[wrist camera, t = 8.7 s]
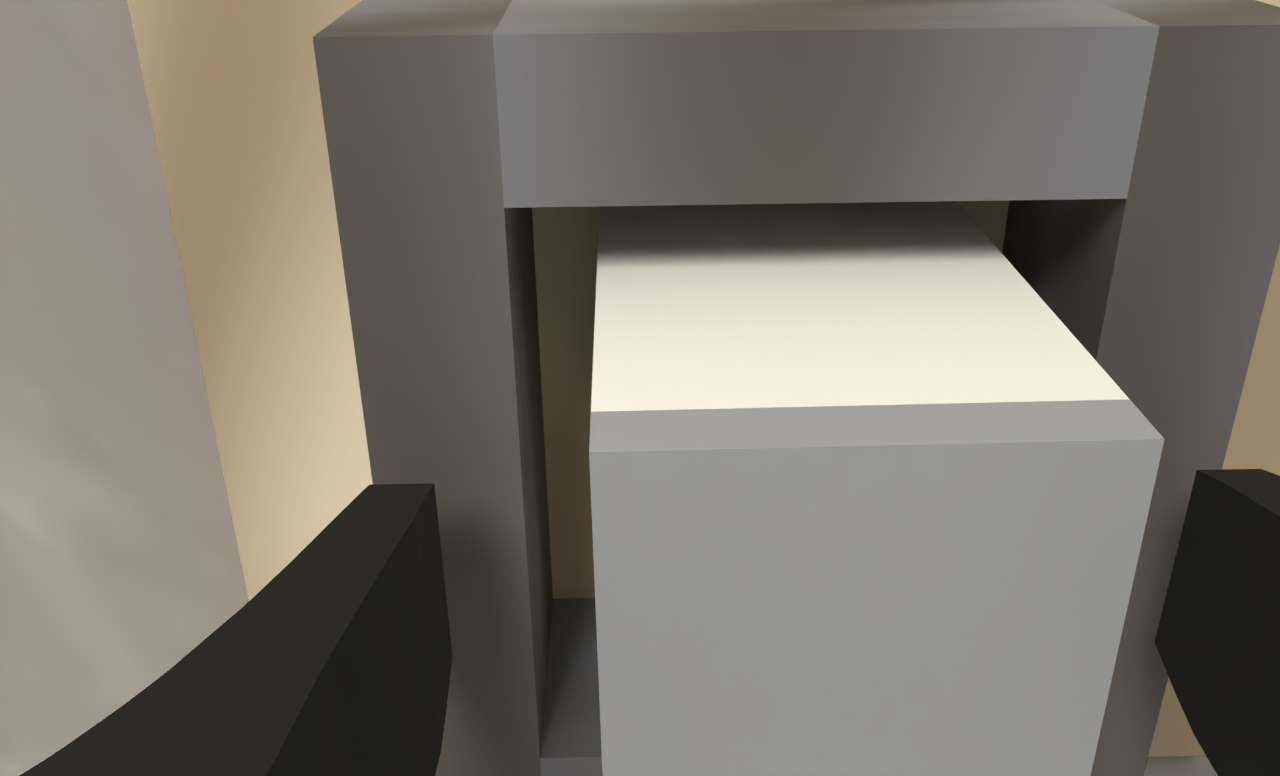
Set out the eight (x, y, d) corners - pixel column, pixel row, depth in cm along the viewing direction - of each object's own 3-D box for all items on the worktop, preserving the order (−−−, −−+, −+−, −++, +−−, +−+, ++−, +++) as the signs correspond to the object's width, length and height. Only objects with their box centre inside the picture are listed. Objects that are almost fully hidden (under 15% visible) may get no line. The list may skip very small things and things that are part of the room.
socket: (1446, -203, 12) (1739, -207, 9) (1189, 731, 18) (1311, 927, 15) (108, -189, 12) (-73, -189, 9) (292, 750, 18) (222, 951, 15)
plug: (942, 186, 13) (1164, 439, 8) (904, 543, 16) (1057, 927, 10) (600, 194, 13) (589, 451, 8) (611, 549, 15) (609, 939, 10)
